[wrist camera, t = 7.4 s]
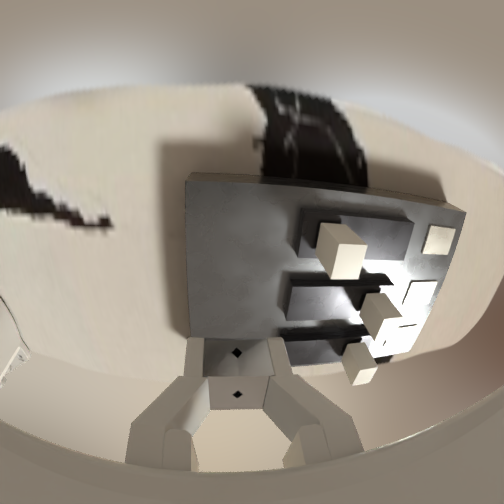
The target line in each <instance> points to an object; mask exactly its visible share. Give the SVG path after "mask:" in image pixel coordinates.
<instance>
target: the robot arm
mask: <svg viewBox="0 0 504 504" xmlns="http://www.w3.org/2000/svg"><path fill="white" fill-rule="evenodd" d="M30 357H31V353H30V351H29V350H28V348H27V347H26V345H25V344H24V342H23V341H22V339H21V337H20V334H19V331H18V329H17V326H16V324H15V322H14V320H13V318H12V316H11V314H10V312H9V310H8V309H7V307H6V306H5V304H4V303H3V301H2V300H1V298H0V389H1V388H2V387H3V386H4V384H5V382H6V378H5V377H4V375H7V374H8V373H10V372H11V371H13V370H14V369H16V368H18V367H19V366H21V365H22V364H24V363H25V362H27V361H28V360H29V359H30ZM230 409H263V411H264V412H265V413H266V414H267V415H268V416H269V418H270V419H271V420H272V421H273V422H274V423H275V425H276V426H277V427H278V428H279V429H280V430H281V431H282V432H283V433H284V435H285V436H286V437H287V438H288V439H289V440H290V441H291V442H292V443H291V445H290V447H289V449H288V451H287V452H286V455H285V456H284V458H283V465H284V468H282V469H272V470H263V471H246V472H199V463H198V459H197V455H196V452H195V448H194V444H193V440H192V437H193V435H194V434H195V432H196V431H197V430H198V428H199V427H200V425H201V424H202V423H203V421H204V420H205V418H206V417H207V415H208V414H209V412H210V410H230ZM0 504H504V385H503V386H502V387H500V388H499V389H497V390H496V391H494V392H493V393H491V394H490V395H488V396H487V397H485V398H484V399H482V400H480V401H479V402H477V403H475V404H474V405H472V406H470V407H469V408H467V409H465V410H463V411H461V412H459V413H458V414H456V415H454V416H452V417H450V418H448V419H446V420H444V421H442V422H440V423H438V424H436V425H434V426H432V427H429V428H427V429H425V430H423V431H420V432H418V433H416V434H413V435H411V436H408V437H406V438H403V439H400V440H398V441H395V442H392V443H389V444H387V445H384V446H381V447H378V448H375V449H371V450H368V451H364V449H363V446H362V443H361V441H360V438H359V435H358V433H357V430H356V427H355V425H354V422H353V419H352V417H351V416H350V415H349V414H347V413H346V412H345V411H343V410H342V409H341V408H339V407H338V406H337V405H335V404H334V403H333V402H332V401H330V400H329V399H327V398H326V397H325V396H324V395H323V394H321V393H320V392H319V391H318V390H316V389H315V388H314V387H313V386H311V385H310V384H309V383H307V382H306V381H305V380H304V379H303V378H301V377H300V376H299V375H298V374H297V375H293V373H292V369H291V365H290V362H289V358H288V355H287V351H286V347H285V344H284V340H283V338H282V337H271V338H235V339H231V338H198V337H188V340H187V347H186V356H185V366H184V376H178V377H177V378H176V379H175V380H174V381H173V382H172V383H171V384H170V385H169V387H167V388H166V389H165V390H164V392H163V393H161V394H160V396H159V397H157V399H156V400H155V401H153V402H152V403H151V404H150V405H149V406H148V407H147V408H146V409H145V410H144V411H143V412H142V413H141V414H140V415H139V416H138V417H137V418H136V419H135V420H134V421H133V422H132V423H131V428H130V434H129V439H128V445H127V451H126V458H125V463H122V462H117V461H112V460H108V459H104V458H100V457H96V456H92V455H89V454H85V453H82V452H78V451H75V450H72V449H69V448H66V447H63V446H60V445H57V444H54V443H52V442H49V441H46V440H44V439H41V438H39V437H37V436H34V435H32V434H29V433H27V432H25V431H23V430H20V429H18V428H17V427H14V426H12V425H10V424H8V423H6V422H5V421H3V420H1V419H0Z"/></svg>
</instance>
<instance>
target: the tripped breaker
mask: <svg viewBox="0 0 504 504" xmlns="http://www.w3.org/2000/svg"><path fill="white" fill-rule="evenodd" d="M367 246H368V245H367V244H366V243H365V242H364V241H363V240H362V239H361V238H360V237H359V236H358V235H357V234H356V233H354V232H353V231H352V230H351V229H350V228H349V227H348V226H347V225H346V224H333V223H321V225H320V230H319V236H318V241H317V246H316V252H315V255H316V256H317V258H318V259H319V261H320V263H321V264H322V266H323V267H324V269H325V271H326V272H327V274H328V275H329V277H330V279H358V278H359V275H360V271H361V268H362V264H363V261H364V257H365V253H366V249H367Z"/></svg>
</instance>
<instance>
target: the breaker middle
mask: <svg viewBox="0 0 504 504" xmlns="http://www.w3.org/2000/svg"><path fill="white" fill-rule="evenodd" d="M359 317H360V318H361V320H362V322H363V323H364V325H365V327H366V328H367V330H368V332H369V334H370V335H371V337H372V339H373V340H374V342H376V341H383V340H390V339H393V338H394V336H395V334H396V332H397V330H398V328H399V326H400V323H401V321H402V319H403V316H402V314H401V313H400V312H399V310H398V309H397V308H396V307H395V305H394V304H393V303H392V301H391V300H390V299H389V298H388V296H387V295H386V294H385V293H369V294H366V297H365V300H364V302H363V305H362V308H361V311H360V314H359Z"/></svg>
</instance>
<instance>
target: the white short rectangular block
mask: <svg viewBox="0 0 504 504" xmlns="http://www.w3.org/2000/svg"><path fill="white" fill-rule="evenodd" d="M341 362H342V364H343V366H344V369H345V371H346V374H347V376H348V378H349V381H350V383H351V385H352V386H354V385H359V384H365V383H369V382H370V380H371V379H372V377H373V375H374V373H375V372H376V370H377V368H378V366H377V364H376V362H375V360H374V358H373V357H372V355H371V353H370V351H369V349H368V347H367V345H366V344H365V342H362V343H353V344H348V345H347V347H346V349H345V352H344V354H343V357H342V359H341Z"/></svg>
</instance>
